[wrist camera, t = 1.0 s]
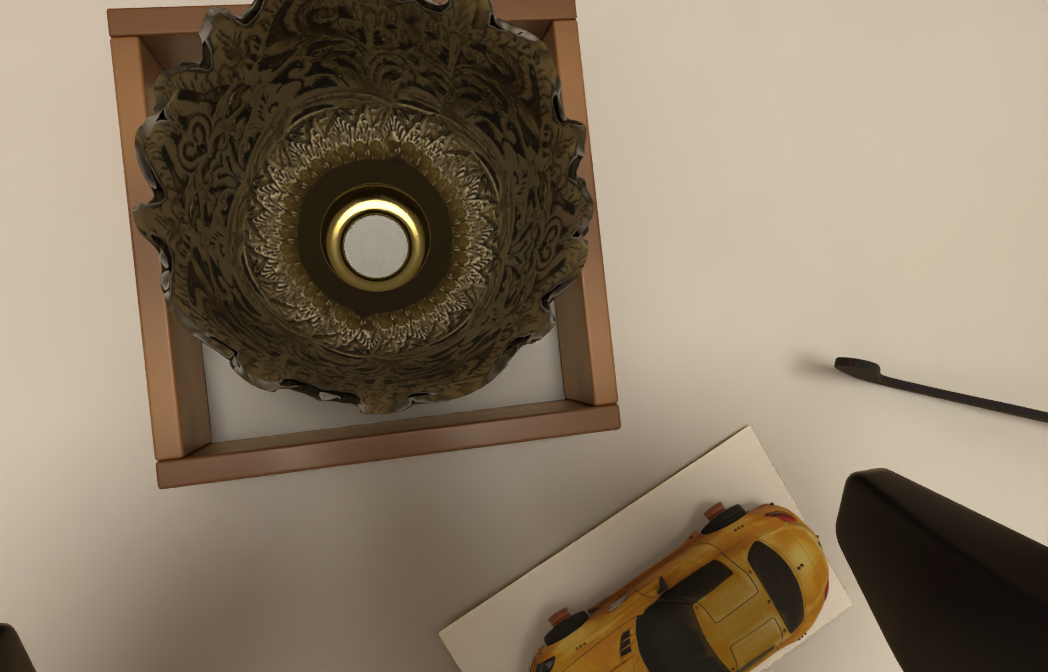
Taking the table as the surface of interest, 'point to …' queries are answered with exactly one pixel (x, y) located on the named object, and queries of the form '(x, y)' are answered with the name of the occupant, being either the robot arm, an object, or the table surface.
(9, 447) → the table surface
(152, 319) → the box
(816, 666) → the table surface
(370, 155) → the cup
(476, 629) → the toy car
